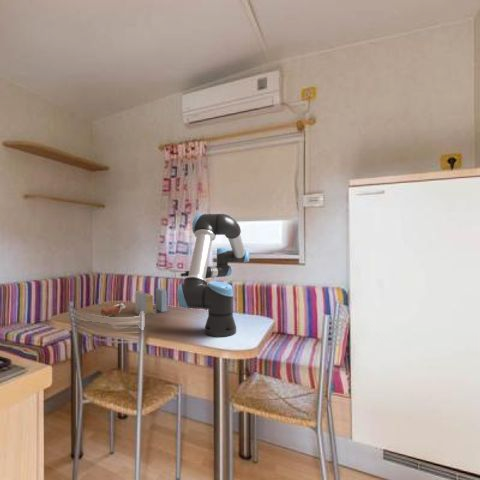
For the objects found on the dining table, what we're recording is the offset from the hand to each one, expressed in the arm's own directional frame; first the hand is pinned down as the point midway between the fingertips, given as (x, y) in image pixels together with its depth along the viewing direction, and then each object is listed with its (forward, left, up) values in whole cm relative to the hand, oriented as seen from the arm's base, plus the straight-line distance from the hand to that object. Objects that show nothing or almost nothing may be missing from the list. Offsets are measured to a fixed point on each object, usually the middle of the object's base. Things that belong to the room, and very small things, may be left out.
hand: (175, 274), depth 179 cm
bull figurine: (-25, +25, -22) cm, 42 cm away
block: (-12, +12, -20) cm, 27 cm away
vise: (-10, +10, -22) cm, 26 cm away
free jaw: (-6, +6, -20) cm, 22 cm away
